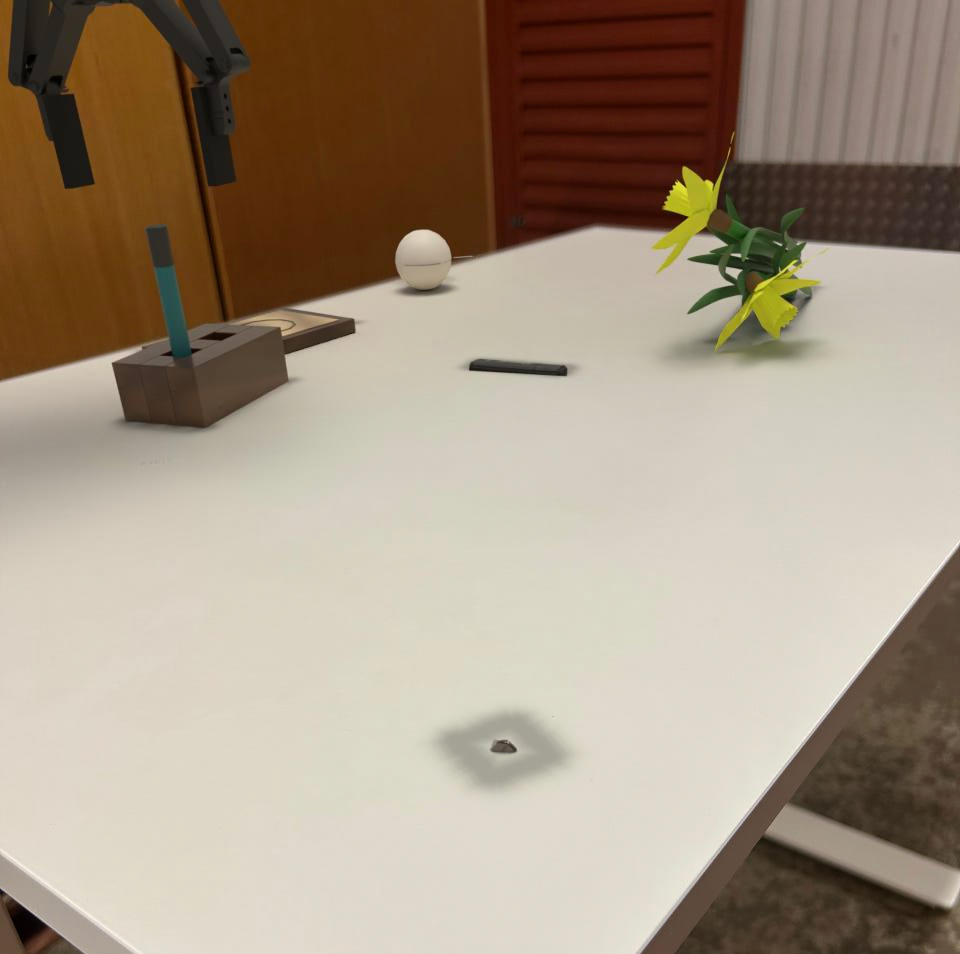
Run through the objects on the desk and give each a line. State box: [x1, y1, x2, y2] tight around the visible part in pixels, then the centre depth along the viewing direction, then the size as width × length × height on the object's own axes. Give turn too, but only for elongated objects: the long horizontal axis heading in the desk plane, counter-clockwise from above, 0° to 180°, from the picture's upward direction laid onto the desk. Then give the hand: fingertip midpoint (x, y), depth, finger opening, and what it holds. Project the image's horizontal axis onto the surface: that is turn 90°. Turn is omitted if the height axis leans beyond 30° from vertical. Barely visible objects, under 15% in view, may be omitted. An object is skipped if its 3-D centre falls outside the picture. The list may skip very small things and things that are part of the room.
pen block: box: [111, 322, 290, 429], centre depth 88 cm, size 8×14×6 cm, turn 159°
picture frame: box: [141, 307, 357, 355], centre depth 109 cm, size 20×12×2 cm, turn 141°
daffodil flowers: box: [650, 132, 830, 352], centre depth 101 cm, size 17×15×35 cm
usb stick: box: [468, 358, 568, 377], centre depth 93 cm, size 10×3×2 cm, turn 65°
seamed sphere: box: [394, 229, 474, 291], centre depth 128 cm, size 10×7×7 cm
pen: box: [144, 224, 192, 357], centre depth 83 cm, size 2×2×16 cm
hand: (149, 186), depth 78 cm, fingers open, 13 cm apart
